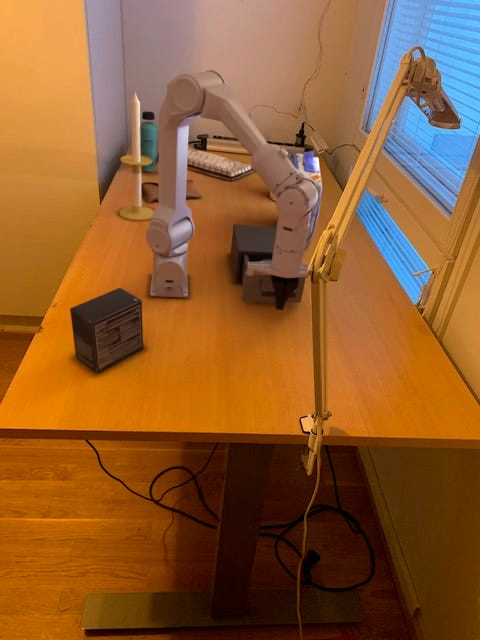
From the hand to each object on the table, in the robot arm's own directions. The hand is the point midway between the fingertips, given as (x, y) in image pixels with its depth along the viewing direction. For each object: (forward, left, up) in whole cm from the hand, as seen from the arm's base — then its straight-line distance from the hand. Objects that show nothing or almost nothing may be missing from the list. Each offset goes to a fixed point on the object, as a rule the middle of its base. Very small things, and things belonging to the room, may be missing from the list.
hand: (279, 307), depth 99 cm
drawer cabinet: (+23, 0, -4) cm, 24 cm away
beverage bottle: (+92, +31, -4) cm, 97 cm away
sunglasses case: (+70, +22, -4) cm, 74 cm away
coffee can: (+75, -15, -4) cm, 77 cm away
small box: (-11, +32, -4) cm, 34 cm away
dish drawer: (+11, 0, -3) cm, 11 cm away
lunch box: (+45, -12, -4) cm, 47 cm away
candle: (+54, +32, -4) cm, 63 cm away
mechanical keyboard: (+106, +12, -4) cm, 107 cm away
